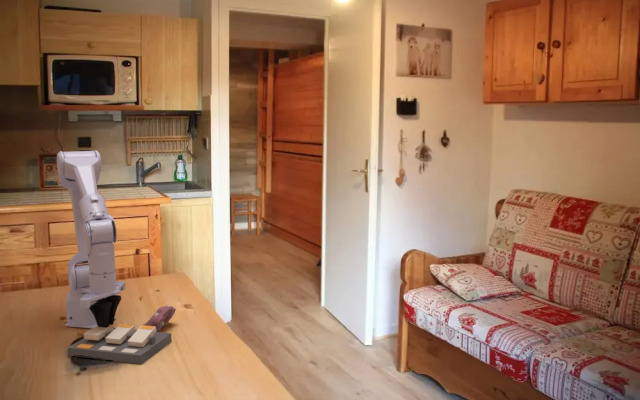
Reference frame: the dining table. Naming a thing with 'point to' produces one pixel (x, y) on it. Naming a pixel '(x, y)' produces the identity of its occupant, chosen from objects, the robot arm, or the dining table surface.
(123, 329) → the block
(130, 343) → the rocker
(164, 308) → the video game controller
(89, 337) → the block
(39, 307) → the dining table surface
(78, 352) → the switch unit
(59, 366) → the dining table surface
